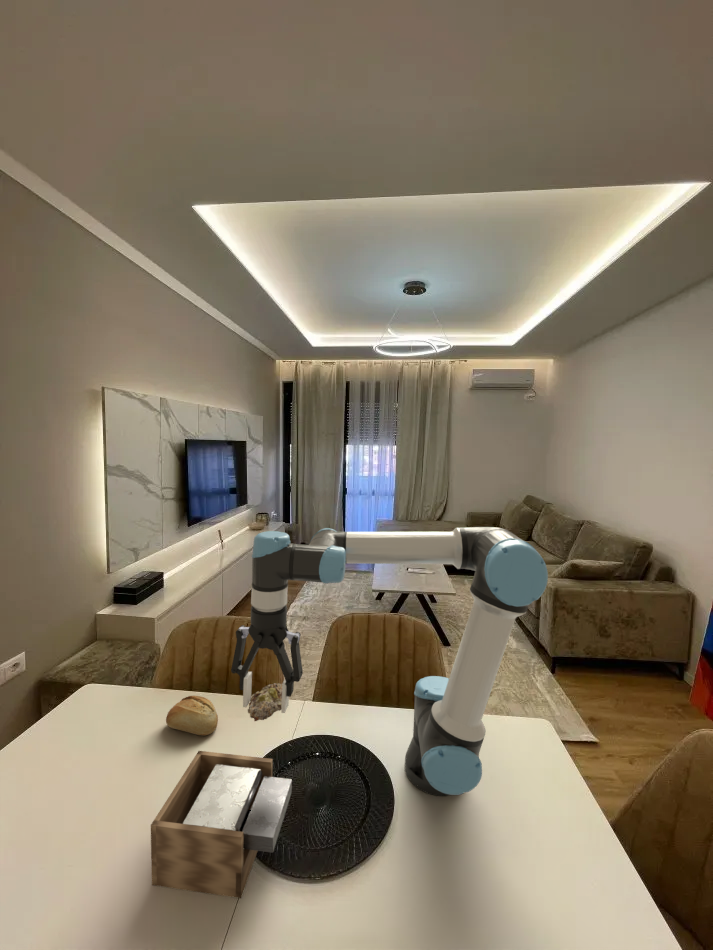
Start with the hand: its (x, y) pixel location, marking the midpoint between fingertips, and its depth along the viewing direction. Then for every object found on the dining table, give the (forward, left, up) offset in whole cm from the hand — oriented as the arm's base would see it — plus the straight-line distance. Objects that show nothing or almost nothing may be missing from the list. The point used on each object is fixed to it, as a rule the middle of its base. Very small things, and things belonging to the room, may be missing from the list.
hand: (265, 705), depth 90 cm
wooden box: (+7, +9, -24) cm, 27 cm away
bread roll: (+28, -22, -24) cm, 43 cm away
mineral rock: (0, 0, -1) cm, 1 cm away
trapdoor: (+2, +9, -17) cm, 19 cm away
